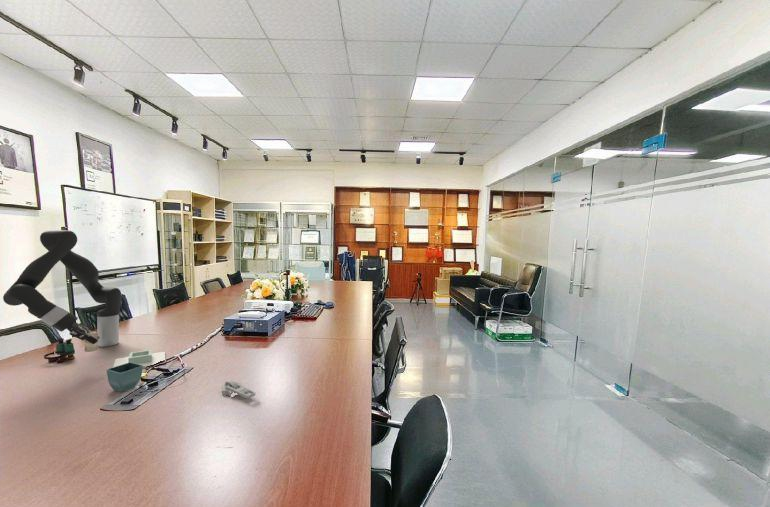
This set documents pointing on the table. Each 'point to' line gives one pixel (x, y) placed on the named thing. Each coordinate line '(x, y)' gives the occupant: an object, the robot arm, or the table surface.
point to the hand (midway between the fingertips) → (96, 340)
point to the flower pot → (124, 376)
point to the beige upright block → (90, 346)
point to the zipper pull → (236, 389)
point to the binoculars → (62, 351)
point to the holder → (141, 358)
